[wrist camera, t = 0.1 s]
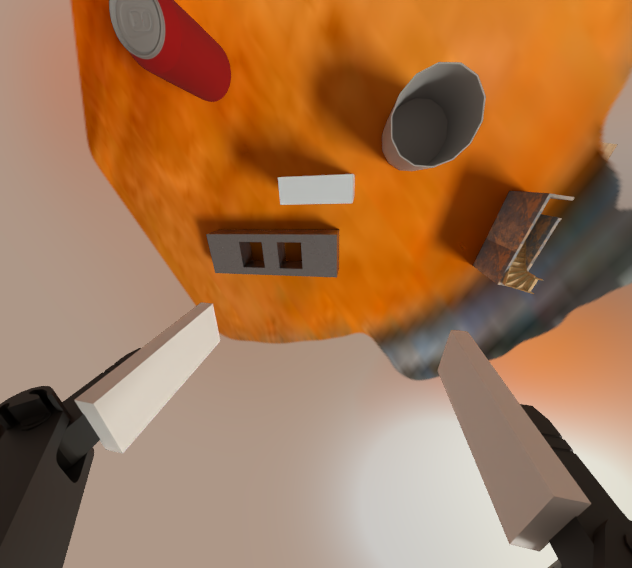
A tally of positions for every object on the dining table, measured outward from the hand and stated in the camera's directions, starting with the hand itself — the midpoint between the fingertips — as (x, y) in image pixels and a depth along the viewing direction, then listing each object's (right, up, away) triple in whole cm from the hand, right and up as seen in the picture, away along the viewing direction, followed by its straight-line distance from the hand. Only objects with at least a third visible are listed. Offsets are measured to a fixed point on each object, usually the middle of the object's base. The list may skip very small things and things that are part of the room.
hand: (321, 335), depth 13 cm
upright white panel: (+1, +18, +22) cm, 29 cm away
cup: (+13, +23, +18) cm, 32 cm away
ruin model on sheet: (+27, +11, +21) cm, 36 cm away
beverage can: (-15, +33, +19) cm, 41 cm away
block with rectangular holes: (-7, +9, +28) cm, 30 cm away
